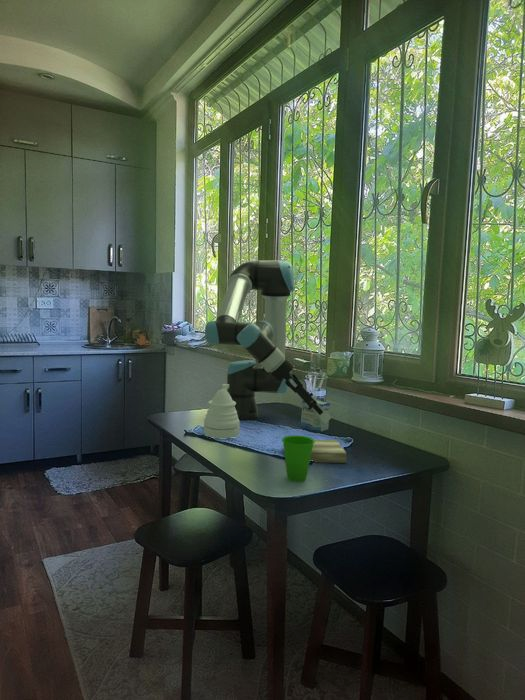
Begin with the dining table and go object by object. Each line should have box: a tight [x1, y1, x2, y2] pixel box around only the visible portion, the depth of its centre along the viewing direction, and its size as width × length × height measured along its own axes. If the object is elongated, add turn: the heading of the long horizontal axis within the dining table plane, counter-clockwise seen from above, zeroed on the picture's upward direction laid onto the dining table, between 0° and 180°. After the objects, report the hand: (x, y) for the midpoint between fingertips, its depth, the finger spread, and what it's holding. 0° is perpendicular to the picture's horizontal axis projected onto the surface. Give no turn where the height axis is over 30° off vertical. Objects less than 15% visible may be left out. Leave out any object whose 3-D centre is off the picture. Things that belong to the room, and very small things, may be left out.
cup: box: [281, 434, 315, 483], centre depth 135 cm, size 9×9×11 cm
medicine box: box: [300, 399, 331, 432], centre depth 155 cm, size 8×4×9 cm, turn 50°
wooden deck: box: [282, 439, 347, 464], centre depth 157 cm, size 14×18×3 cm
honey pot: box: [203, 383, 241, 438], centre depth 176 cm, size 13×13×18 cm
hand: (325, 416), depth 155 cm, fingers closed on medicine box, 8 cm apart
